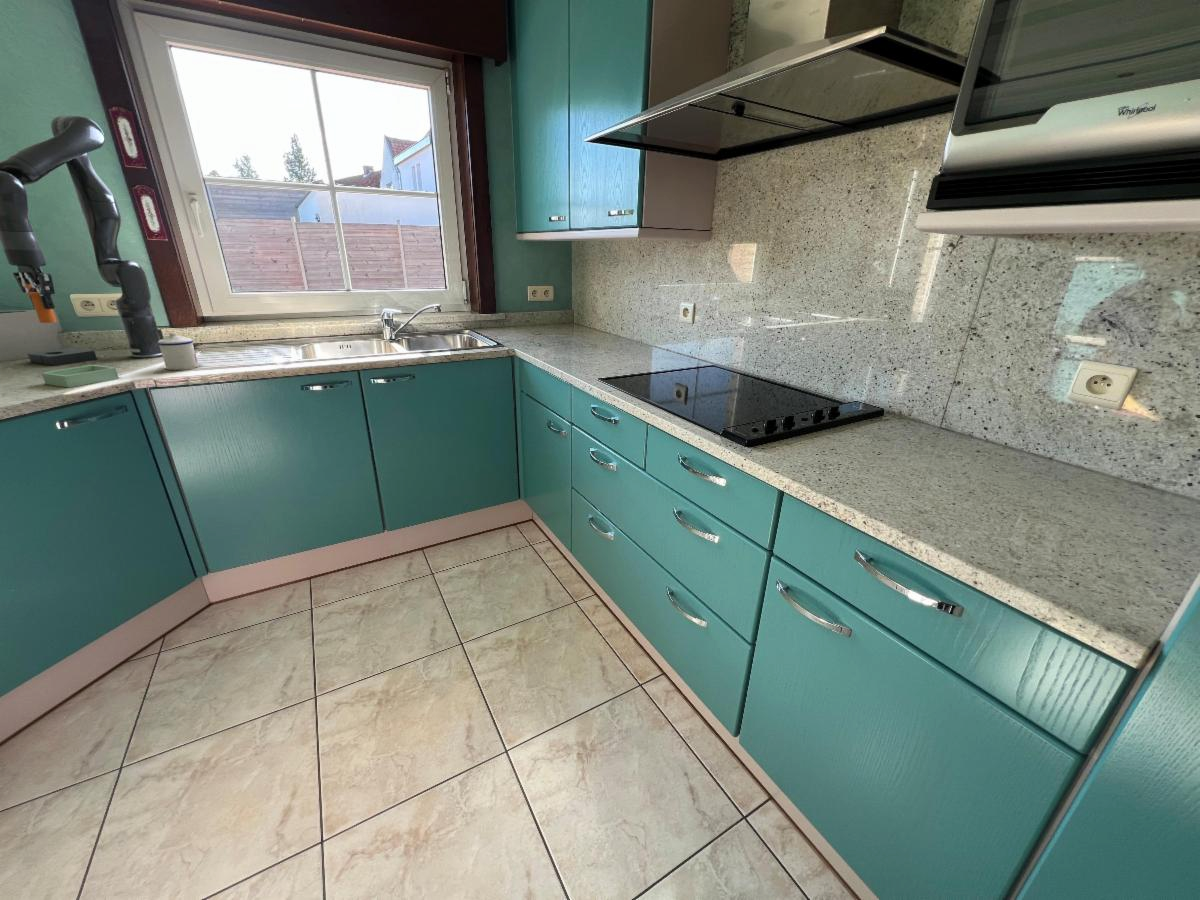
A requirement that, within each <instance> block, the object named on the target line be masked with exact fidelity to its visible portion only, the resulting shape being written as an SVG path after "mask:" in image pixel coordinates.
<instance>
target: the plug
mask: <svg viewBox="0 0 1200 900" xmlns="http://www.w3.org/2000/svg"><path fill="white" fill-rule="evenodd" d="M26 295H27V296H29V295H31V298H32V301H33V304H34V307H35V308H34V307H33V308H34V309H35V312H36V315H37V318H38V321H39V323H41V324H49V323H51V324H52V323H57V322H58V321H57V318H56V315H55V312H54V309H45V308H44V307H43V304H42V301H41V298H40V295H39V294H38V292H27V294H26Z"/></svg>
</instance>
